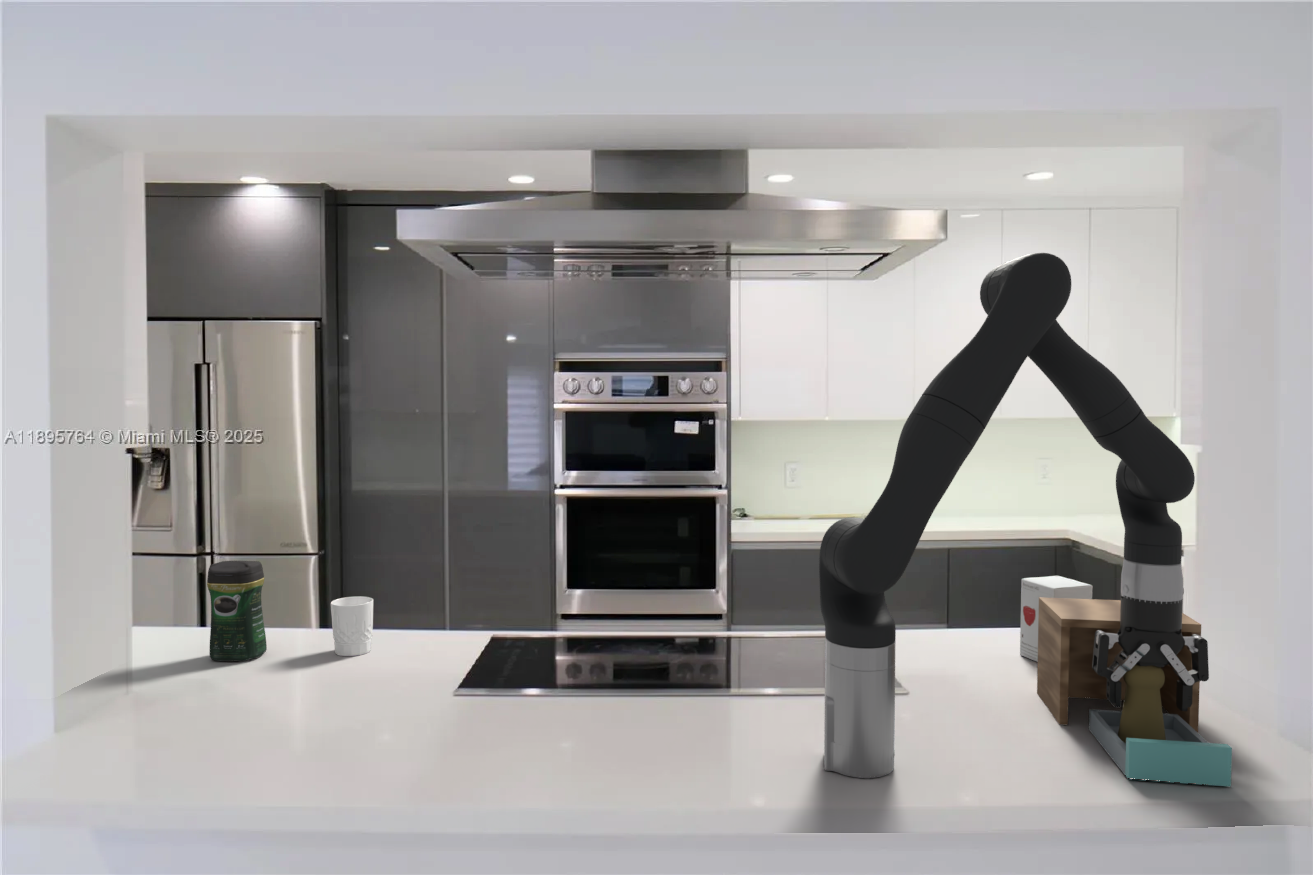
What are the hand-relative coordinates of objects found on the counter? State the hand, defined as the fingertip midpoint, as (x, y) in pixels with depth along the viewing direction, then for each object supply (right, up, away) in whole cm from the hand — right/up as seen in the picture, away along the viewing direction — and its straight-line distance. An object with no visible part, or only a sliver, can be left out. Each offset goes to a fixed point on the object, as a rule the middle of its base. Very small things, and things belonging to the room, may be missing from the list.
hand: (1148, 707), depth 123 cm
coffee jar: (-149, -5, +46) cm, 156 cm away
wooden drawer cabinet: (+3, -5, +15) cm, 16 cm away
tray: (0, -6, -2) cm, 6 cm away
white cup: (-128, -4, +49) cm, 137 cm away
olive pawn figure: (-1, -5, +1) cm, 5 cm away
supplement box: (+6, -4, +42) cm, 43 cm away
